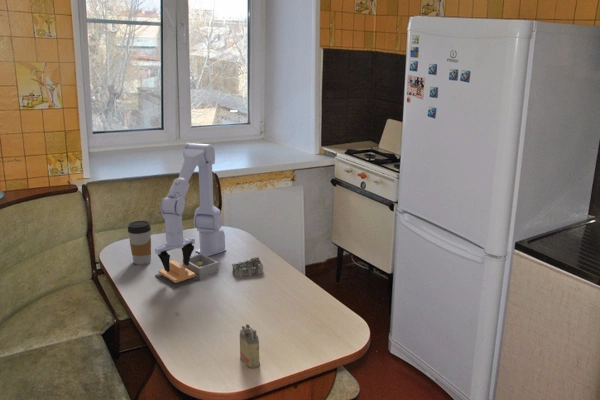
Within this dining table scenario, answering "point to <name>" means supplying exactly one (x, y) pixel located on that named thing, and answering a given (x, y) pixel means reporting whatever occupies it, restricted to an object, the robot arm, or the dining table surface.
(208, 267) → the parts tub
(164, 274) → the lid
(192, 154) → the robot arm
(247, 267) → the grey rock
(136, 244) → the coffee cup
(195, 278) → the mat
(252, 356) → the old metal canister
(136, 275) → the dining table surface
